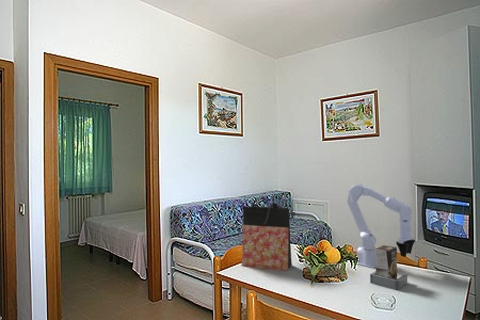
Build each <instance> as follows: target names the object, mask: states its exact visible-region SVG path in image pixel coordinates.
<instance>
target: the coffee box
mask: <svg viewBox="0 0 480 320" xmlns="http://www.w3.org/2000/svg"><path fill="white" fill-rule="evenodd" d="M397 247H398V246H397ZM397 247H396V246H392V245H391V246H390V245H381V246H379V247H376V267H375V271H376V275H378V276H382V277H386V278H390V279H394V280H397V279H398V253H397V252H398V249H397Z"/></svg>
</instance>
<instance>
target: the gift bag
mask: <svg viewBox="0 0 480 320" xmlns="http://www.w3.org/2000/svg"><path fill="white" fill-rule="evenodd" d="M290 216H296V211H291V212H290V210H289V207H279V206H278V205H277V204H276V202H272V203H271V204H270V205H269V206H260V205H258V204H256V203H252V206H248V205H247V206H246V205H245V206H244V205H243V206H242V221H243V222H242V247H241V248H242V249H241V250H242V251H241V252H242V255H241V266H242V267H249V268H259V269H267V270H277V271H284V272H285V271H286V272H287V271H288V272H289V270H290V268H291V267H292V265H293V263H292V250H291V247H292V245H291V228H290V227H291V225H290V223H291V222H290Z"/></svg>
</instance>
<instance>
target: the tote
mask: <svg viewBox="0 0 480 320" xmlns="http://www.w3.org/2000/svg"><path fill="white" fill-rule="evenodd" d="M369 277H370V278H369V280H370V281H369V282H370V284H372V285H376V286H380V287H384V288H386V289H391V290H395V291H399V290H400V289H402V288H403V287H405V285H407V284H408V274H407V273H404V274H403V275H401V276H400V277H397V280H394V279H390V278H386V277H382V276H378V275H376V270H374V271H373V272H372V273H370V274H369Z"/></svg>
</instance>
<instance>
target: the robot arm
mask: <svg viewBox="0 0 480 320" xmlns="http://www.w3.org/2000/svg"><path fill="white" fill-rule="evenodd" d="M361 196H362V197H364V196H367V197H368V196H370V197H371V198H373V199H375V200H378V201H380V202H382V204H383V205H384V207H386V208H388V209H389V210H391V211H393V212H395V213H398V214H399V219H398V223H399V225H398V226H399V232H398V234H399V236H398V241H396V242H395V245H396V246H397V247H398V250H399V253H400V257H403V258H406V257H407V255H408V254H409V255H410V254H412V251H413V248H414V247H413V246H414V245H415V242H416V238H415V237H413V221H412V214H413V212H412V211H413V210H412V208H411V206H410V205H409V204H407V203H405V202H402V201H399V200H397V199H396V197H394V196H385V195H383V194H381V193H379V192H378V191H376V190H374V189H372V188H370V187H368V186H365V185H363V184H361V183H356V184H354V185H352V186H351V187H350V189H349V190H348V195H347V201H346V203H347V205H348V207H349V210H350V213H351V214H352V215H351V216H353V219H354V221H355V225H356V226H357V228H358V230H359V231H358V232H359V234H360V239H361V245H362V246H359V247H357V250H356V258H357V257H358V259H359V260H358V264H357V265H359V266H364V267H367V268H372V269H376V248H377V247H376V246H375V245H376V244H377V238H376V237H375V235H373V233H372V231H371V230H370V228H369V226H368V224H367V222H366V220H365V217H364V214H363V212H362V210H361V208H360V206H359V204H358V201H359V200H360V198H361Z"/></svg>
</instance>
